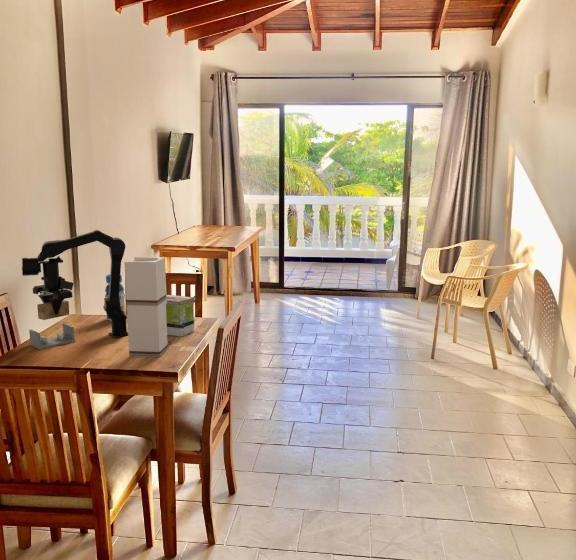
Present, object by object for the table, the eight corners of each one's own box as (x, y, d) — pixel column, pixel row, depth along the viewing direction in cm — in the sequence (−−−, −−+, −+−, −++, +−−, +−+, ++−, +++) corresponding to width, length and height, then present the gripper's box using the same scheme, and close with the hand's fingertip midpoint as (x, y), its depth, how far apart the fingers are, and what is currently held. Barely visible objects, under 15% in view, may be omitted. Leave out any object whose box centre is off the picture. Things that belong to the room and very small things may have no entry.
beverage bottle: (128, 316, 286) (126, 273, 282) (121, 321, 277) (119, 277, 274) (111, 316, 287) (108, 273, 283) (103, 321, 278) (100, 276, 275)
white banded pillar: (168, 348, 238) (164, 257, 232) (159, 357, 228) (155, 262, 221) (139, 347, 240) (135, 256, 233) (129, 356, 229) (124, 261, 223)
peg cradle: (65, 337, 254) (64, 322, 253) (75, 341, 248) (74, 326, 246) (29, 344, 244) (28, 329, 243) (39, 349, 238) (38, 334, 237)
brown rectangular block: (43, 320, 241) (43, 306, 240) (38, 318, 243) (37, 304, 242) (69, 314, 249) (68, 301, 248) (63, 313, 252) (62, 299, 251)
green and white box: (195, 331, 262) (194, 296, 259) (180, 337, 253) (179, 301, 250) (166, 327, 269) (164, 293, 266) (151, 332, 260) (149, 297, 257)
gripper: (83, 274, 244) (85, 313, 247) (56, 268, 255) (58, 306, 258) (57, 278, 235) (60, 318, 238) (30, 272, 246) (33, 311, 249)
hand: (53, 313), depth 246 cm, fingers closed on brown rectangular block, 4 cm apart
